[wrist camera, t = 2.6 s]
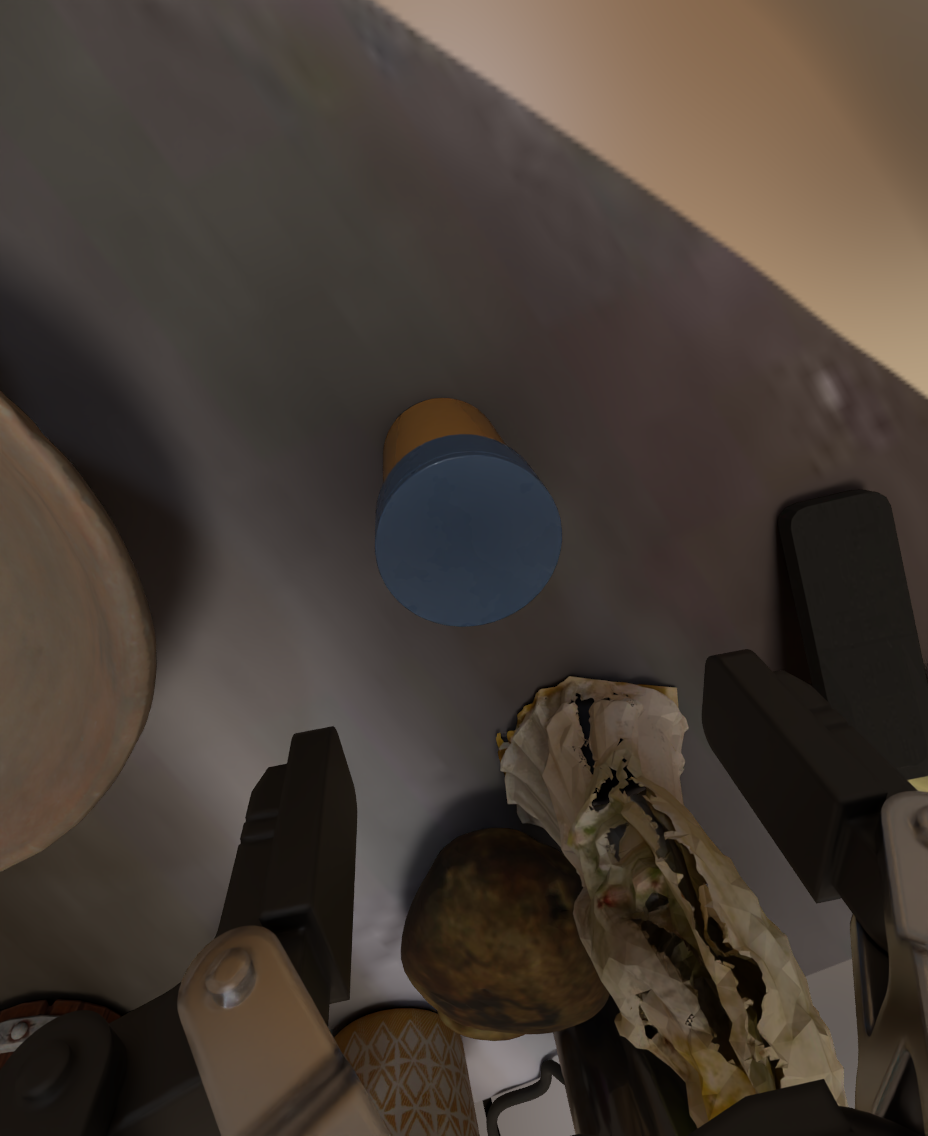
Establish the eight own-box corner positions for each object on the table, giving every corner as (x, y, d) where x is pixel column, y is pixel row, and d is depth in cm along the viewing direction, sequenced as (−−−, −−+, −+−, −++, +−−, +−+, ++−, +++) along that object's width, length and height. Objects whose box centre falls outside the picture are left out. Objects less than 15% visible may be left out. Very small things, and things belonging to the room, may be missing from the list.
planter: (380, 978, 45) (380, 1165, 35) (502, 1021, 50) (530, 1195, 40) (283, 1060, 48) (260, 1249, 39) (406, 1093, 53) (411, 1268, 44)
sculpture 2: (402, 787, 37) (406, 970, 46) (392, 924, 29) (400, 1109, 39) (616, 785, 37) (577, 966, 47) (660, 920, 30) (603, 1102, 39)
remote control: (769, 509, 31) (833, 785, 32) (784, 506, 30) (852, 799, 30) (866, 486, 31) (930, 766, 31) (887, 482, 29) (955, 780, 29)
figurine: (459, 784, 37) (532, 1272, 19) (562, 639, 33) (777, 1086, 15) (614, 832, 40) (795, 1275, 23) (723, 708, 36) (1046, 1128, 19)
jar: (506, 502, 29) (555, 597, 21) (394, 521, 29) (400, 625, 20) (493, 388, 26) (544, 445, 18) (371, 408, 26) (367, 475, 18)
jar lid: (549, 577, 23) (567, 611, 20) (393, 605, 22) (395, 643, 20) (536, 419, 20) (556, 439, 18) (358, 449, 20) (356, 473, 17)
